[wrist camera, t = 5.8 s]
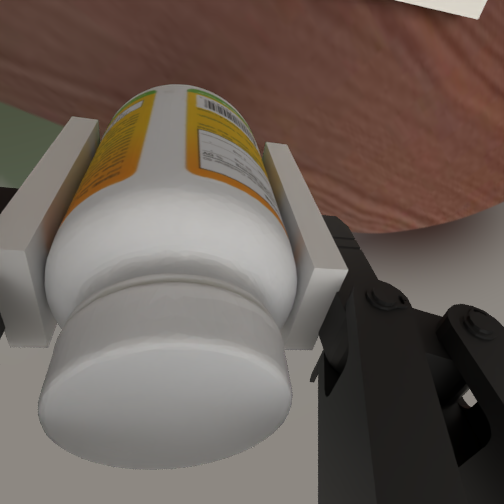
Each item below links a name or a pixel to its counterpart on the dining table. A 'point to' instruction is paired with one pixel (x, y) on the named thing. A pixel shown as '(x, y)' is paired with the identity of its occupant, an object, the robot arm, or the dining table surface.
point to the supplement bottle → (169, 291)
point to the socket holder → (453, 6)
